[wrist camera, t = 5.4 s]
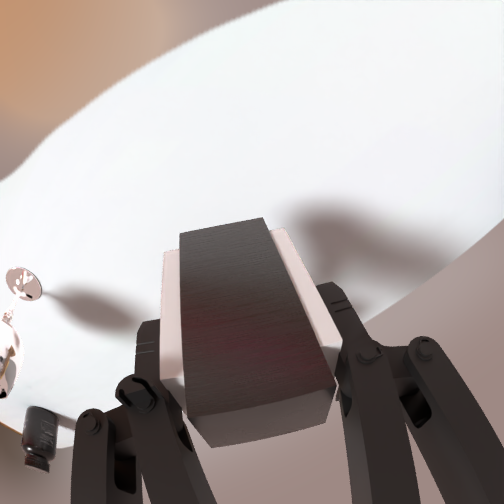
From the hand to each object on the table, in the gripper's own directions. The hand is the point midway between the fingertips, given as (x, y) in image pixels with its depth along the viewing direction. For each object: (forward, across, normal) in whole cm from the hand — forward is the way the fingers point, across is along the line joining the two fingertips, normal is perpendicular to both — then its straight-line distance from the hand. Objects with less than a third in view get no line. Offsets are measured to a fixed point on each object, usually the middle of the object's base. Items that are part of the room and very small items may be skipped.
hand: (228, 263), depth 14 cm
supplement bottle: (+10, +40, +34) cm, 54 cm away
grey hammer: (+1, 0, +6) cm, 6 cm away
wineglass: (+10, +21, +5) cm, 24 cm away
